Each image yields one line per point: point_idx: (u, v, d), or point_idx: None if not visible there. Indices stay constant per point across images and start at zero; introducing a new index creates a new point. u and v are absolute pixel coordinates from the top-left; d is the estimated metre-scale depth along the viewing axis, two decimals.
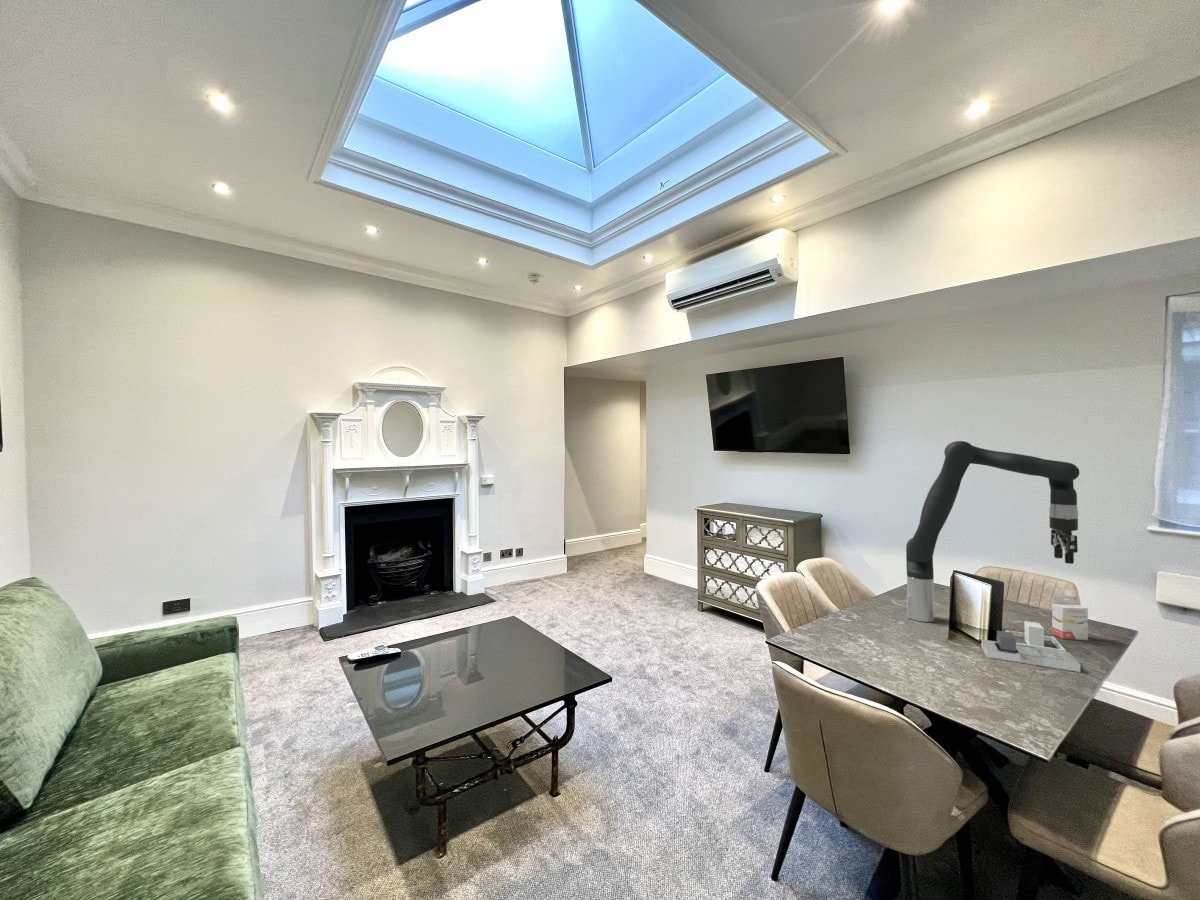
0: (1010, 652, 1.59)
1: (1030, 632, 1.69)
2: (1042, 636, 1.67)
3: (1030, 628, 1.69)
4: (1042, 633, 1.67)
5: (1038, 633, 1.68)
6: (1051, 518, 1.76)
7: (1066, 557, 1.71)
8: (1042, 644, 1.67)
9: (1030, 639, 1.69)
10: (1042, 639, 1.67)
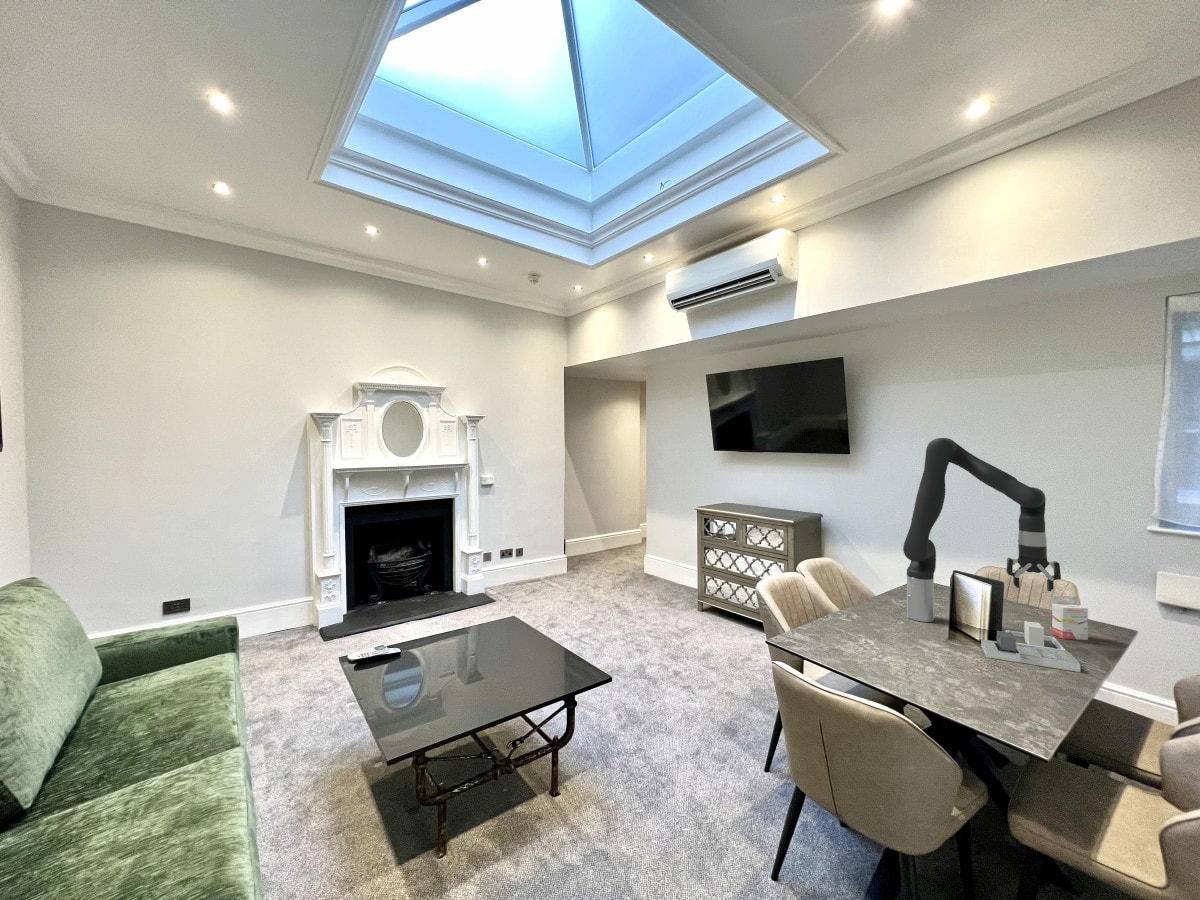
0: (1010, 652, 1.59)
1: (1030, 632, 1.69)
2: (1042, 636, 1.67)
3: (1030, 628, 1.69)
4: (1042, 633, 1.67)
5: (1038, 633, 1.68)
6: (1037, 548, 1.67)
7: (1051, 585, 1.68)
8: (1042, 644, 1.67)
9: (1030, 639, 1.69)
10: (1042, 639, 1.67)
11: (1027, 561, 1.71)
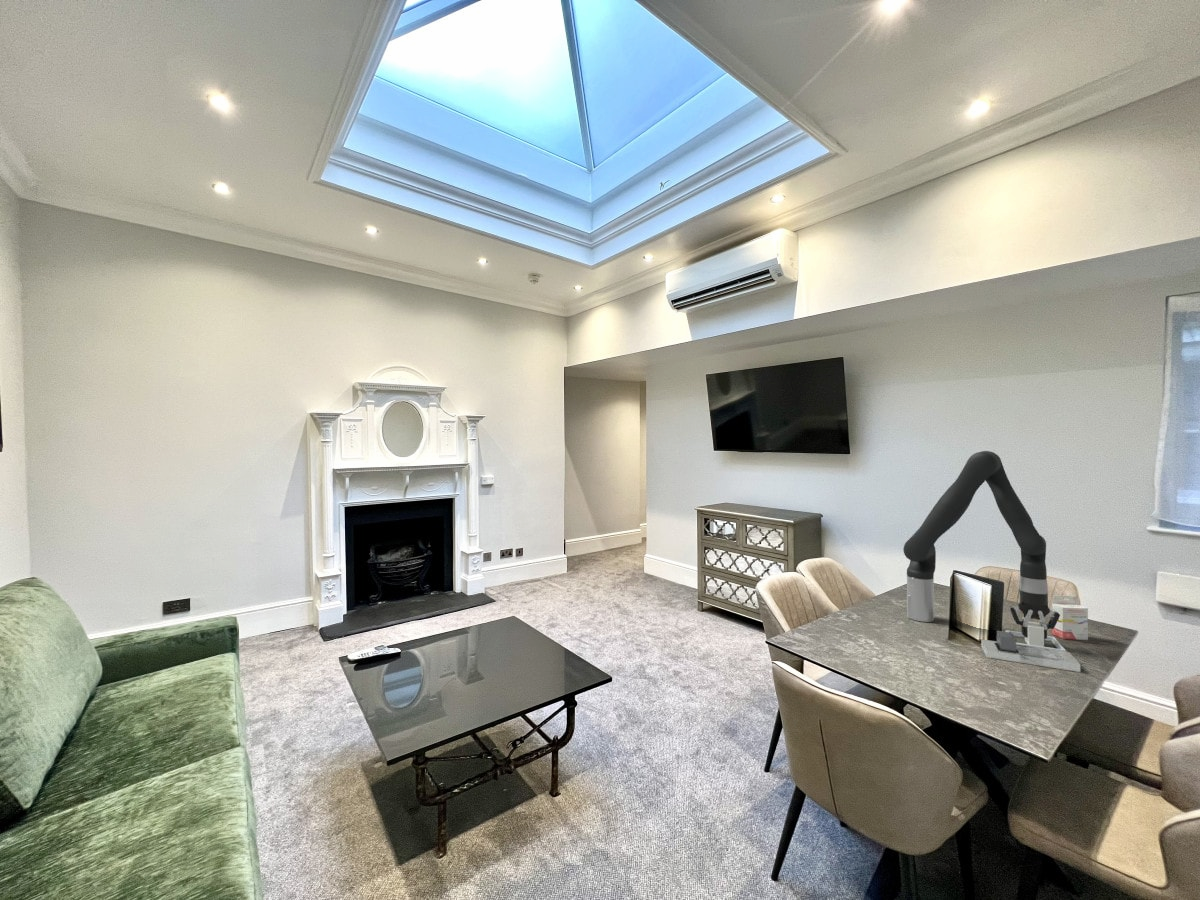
0: (1010, 652, 1.59)
1: (1030, 632, 1.69)
2: (1042, 636, 1.67)
3: (1030, 628, 1.69)
4: (1042, 633, 1.67)
5: (1038, 633, 1.68)
6: (1039, 595, 1.67)
7: (1044, 634, 1.69)
8: (1042, 644, 1.67)
9: (1030, 639, 1.69)
10: (1042, 639, 1.67)
11: (1028, 607, 1.71)
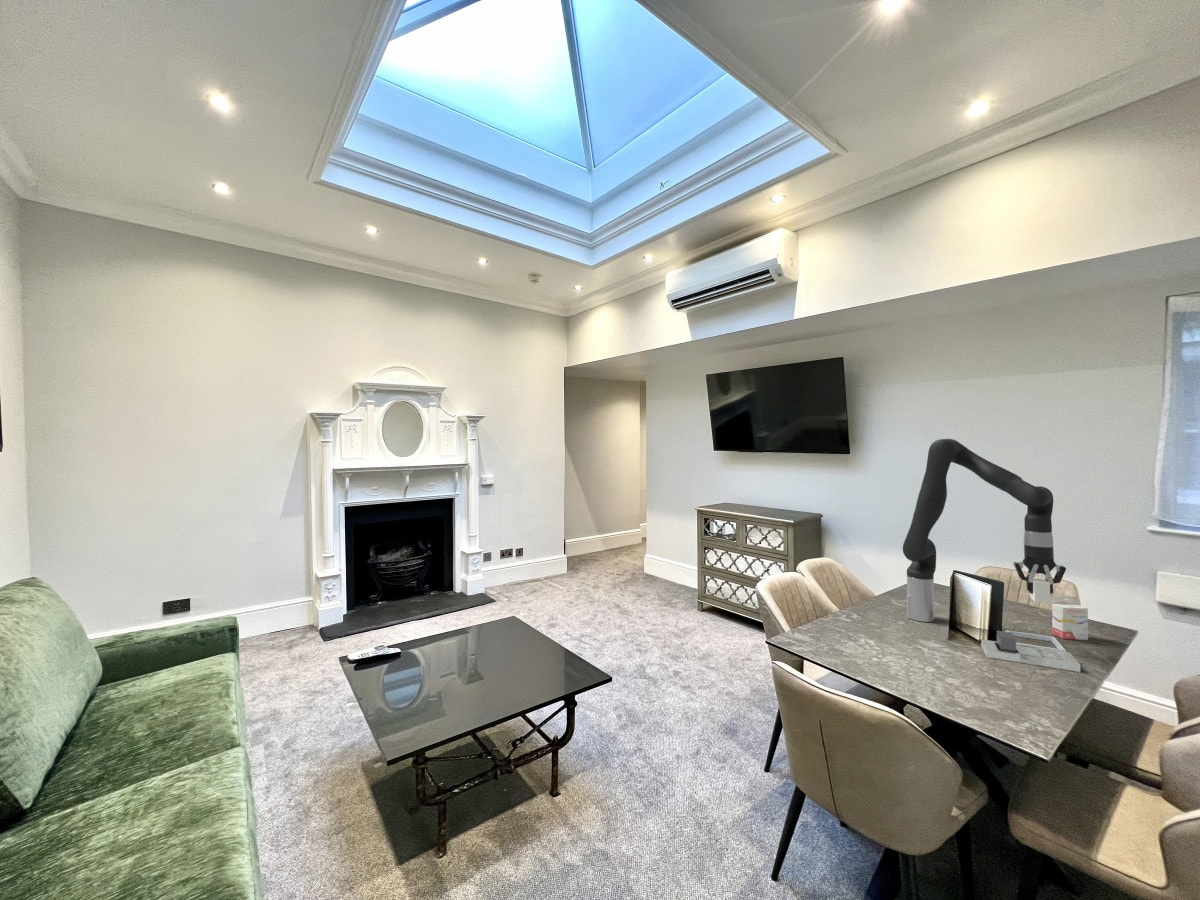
0: (1010, 652, 1.59)
1: (1036, 587, 1.64)
2: (1048, 591, 1.63)
3: (1036, 583, 1.64)
4: (1048, 587, 1.63)
5: (1044, 588, 1.63)
6: (1044, 548, 1.63)
7: (1050, 589, 1.64)
8: (1048, 599, 1.63)
9: (1036, 594, 1.64)
10: (1048, 594, 1.63)
11: (1033, 562, 1.66)
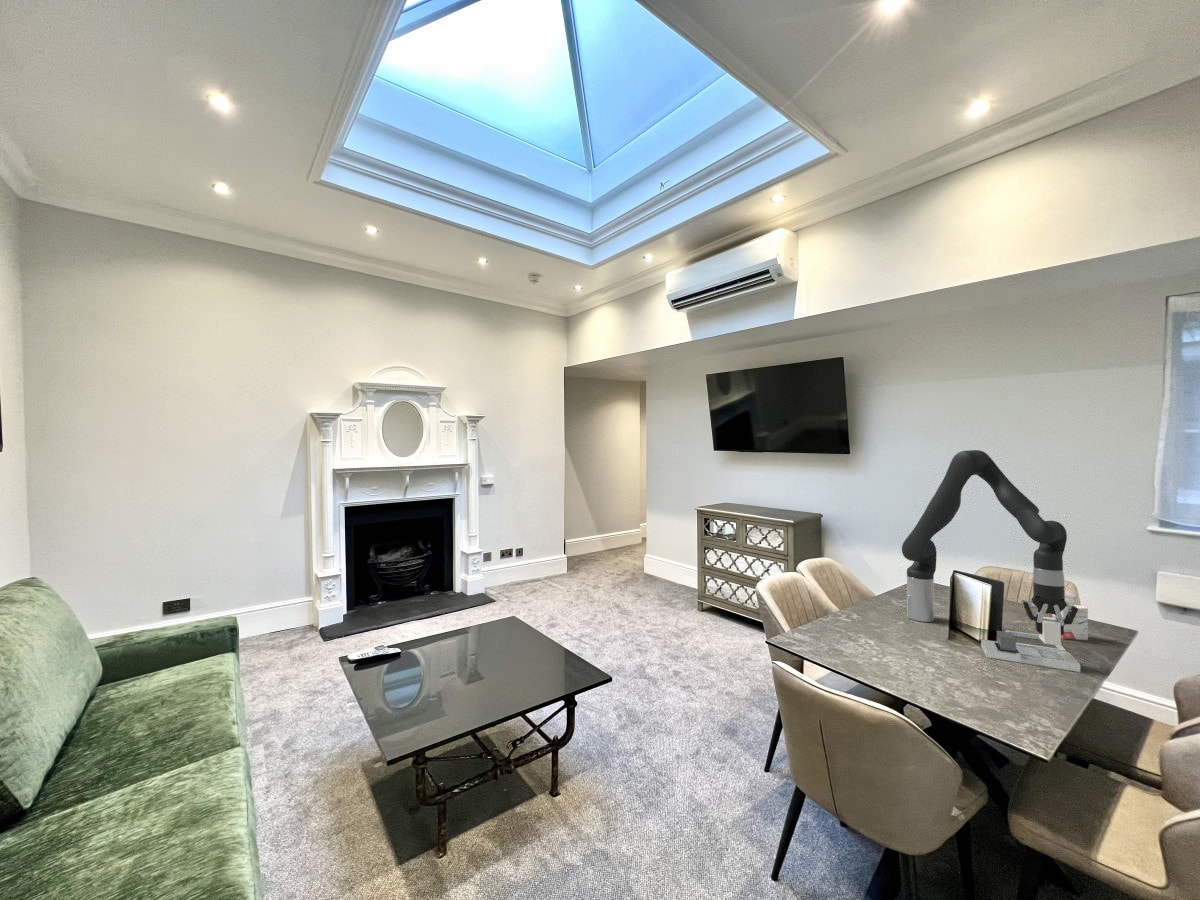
0: (1010, 652, 1.59)
1: (1045, 628, 1.55)
2: (1059, 632, 1.53)
3: (1045, 624, 1.55)
4: (1059, 629, 1.53)
5: (1054, 629, 1.54)
6: (1055, 587, 1.53)
7: (1061, 630, 1.55)
8: (1059, 641, 1.53)
9: (1045, 636, 1.55)
10: (1059, 636, 1.53)
11: (1043, 601, 1.57)
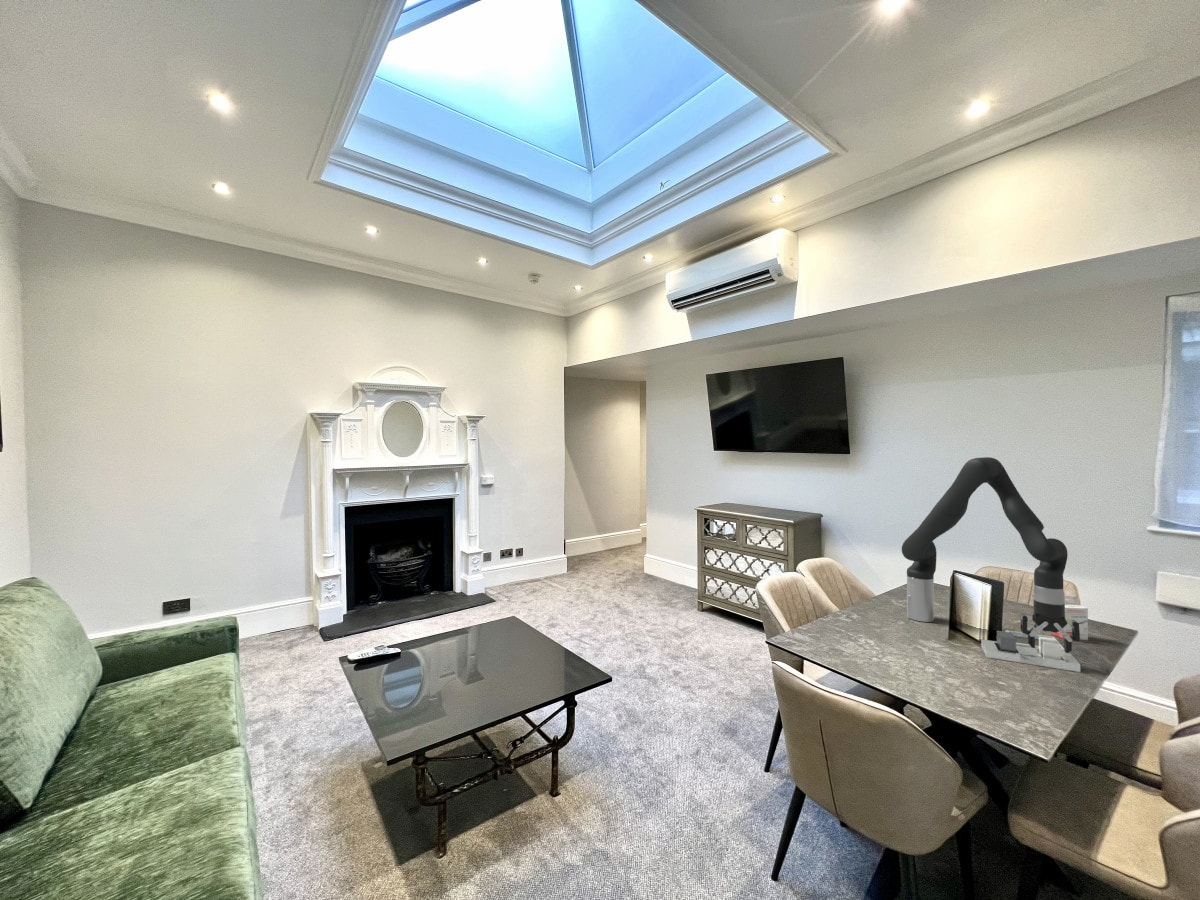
0: (1010, 652, 1.59)
1: (1045, 649, 1.55)
2: (1059, 654, 1.53)
3: (1045, 645, 1.55)
4: (1059, 650, 1.53)
5: (1054, 650, 1.54)
6: (1055, 606, 1.53)
7: (1069, 647, 1.54)
8: None
9: (1045, 657, 1.55)
10: (1059, 657, 1.53)
11: (1043, 619, 1.57)
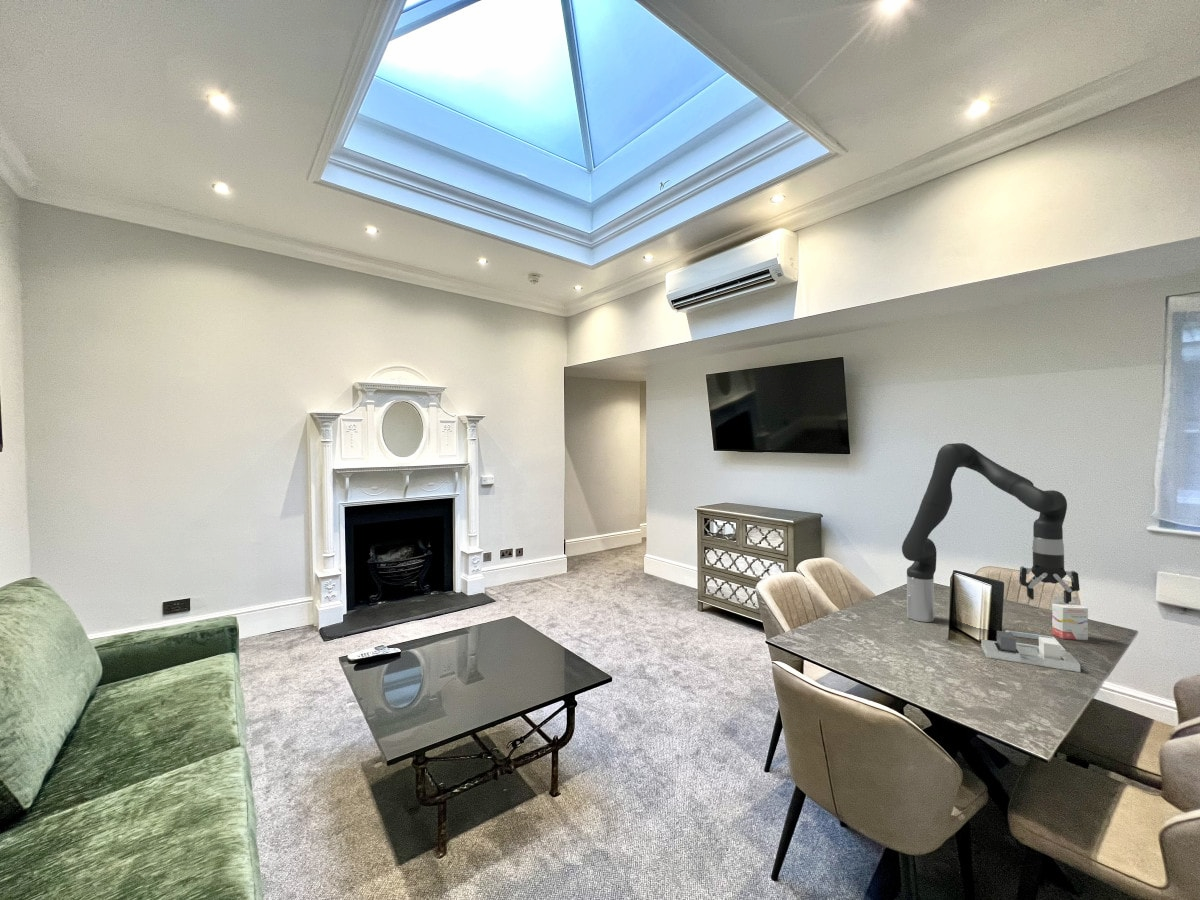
0: (1010, 652, 1.59)
1: (1045, 649, 1.55)
2: (1059, 654, 1.53)
3: (1045, 645, 1.55)
4: (1059, 650, 1.53)
5: (1054, 650, 1.54)
6: (1054, 556, 1.53)
7: (1068, 597, 1.54)
8: None
9: (1045, 657, 1.55)
10: (1059, 657, 1.53)
11: (1042, 570, 1.57)
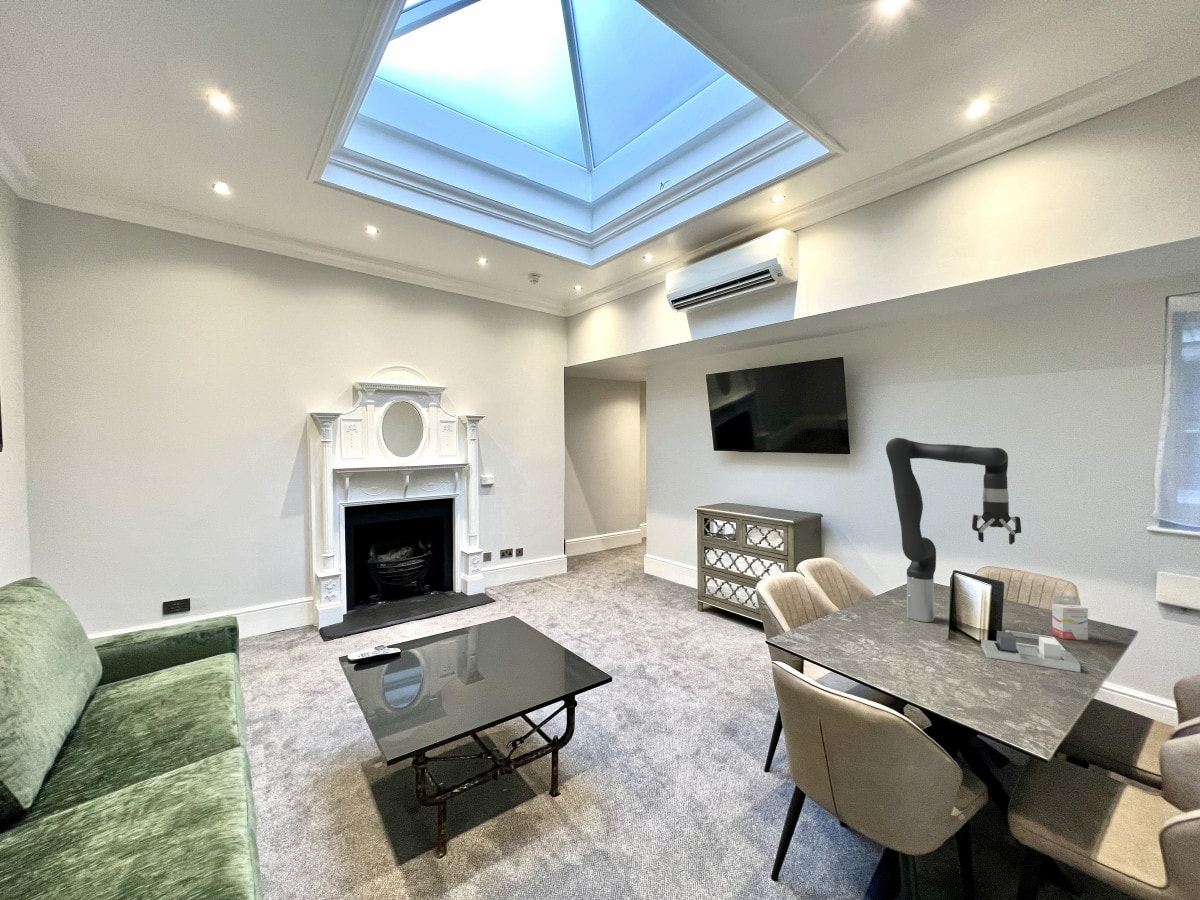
0: (1010, 652, 1.59)
1: (1045, 649, 1.55)
2: (1059, 654, 1.53)
3: (1045, 645, 1.55)
4: (1059, 650, 1.53)
5: (1054, 650, 1.54)
6: (1000, 503, 1.78)
7: (1012, 538, 1.78)
8: None
9: (1045, 657, 1.55)
10: (1059, 657, 1.53)
11: (990, 516, 1.81)
